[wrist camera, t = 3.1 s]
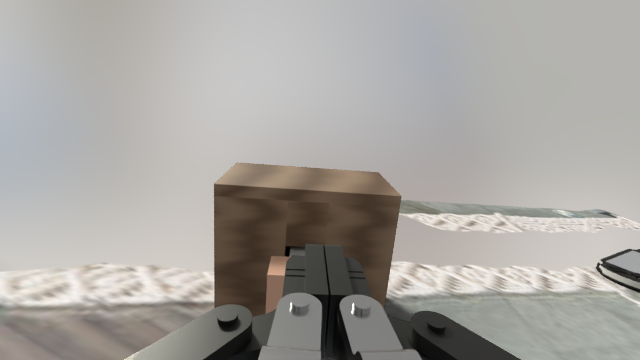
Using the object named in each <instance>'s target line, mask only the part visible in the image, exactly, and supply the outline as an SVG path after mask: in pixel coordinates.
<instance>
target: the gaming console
mask: <svg viewBox="0 0 640 360" xmlns="http://www.w3.org/2000/svg"><path fill="white" fill-rule="evenodd" d="M596 269H597V270H598V271H599V272H600V273H601V274H602V275H603V276H605V277H606V278H608V279H609V280H611V281H613V282H616V283H618V284H620V285H622V286H625V287H627V288H630V289H633V290H636V291H639V292H640V249H638V250H632V249H627V250H624V251H621V252H618V253H616V254H613V255H611V256H608V257H605V258H603V259H601V260H600V261H599V263H598V264H597V267H596Z"/></svg>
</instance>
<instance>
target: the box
mask: <svg viewBox="0 0 640 360" xmlns="http://www.w3.org/2000/svg"><path fill="white" fill-rule="evenodd" d="M400 202H401V195H400V194H399V193H398V192H397V191H396V190H395V189H394V188H393V187H392V186H391V185H390V184H389V183H388V182H387V181H386V180H385V179H384V178H383V177H382V176H381V175H380V174H379V173H378V172H363V171H349V170H335V169H320V168H307V167H293V166H278V165H264V164H250V163H236V164H235V165H234V166H233V167H232V168H231V169H230V170H228V171H227V172H226V173H225V174H224V175H223V176H222V177H221V178H220V179H219V180H218V181H217V182H216V183H215V184H214V258H215V259H214V260H215V261H214V266H215V267H214V276H215V308H216V307H219V306H223V305H228V304H235V305H241V306H244V307H246V308H247V309H249V311H250V312H251V313H252V317H254V316H259V315H264V314H266V292H267V274H268V269H269V265H270V260H271V256H283V257H289V255H290V246H295V247H305V244H318V245H323V247H324V245H341V246H342V250H343V254H344V257H350V258H355V259H356V260H357V261H358V262H359V263H360V264H361V266H362V269H363V273H364V275H365V279H366V281H367V284H368V287H369V290H370V293H371V295H372V298H373V299H375V300H377V301H378V302H379V303H380V304H381V305H382V307H383V309H384V306H385V300H386V293H387V287H388V280H389V274H390V267H391V261H392V254H393V248H394V241H395V235H396V228H397V221H398V215H399V208H400Z"/></svg>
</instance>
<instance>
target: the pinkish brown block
mask: <svg viewBox="0 0 640 360" xmlns="http://www.w3.org/2000/svg"><path fill="white" fill-rule="evenodd" d="M292 255H299V256H305V247H295V246H290V255H289V257H283V256H271V260H270V265H269V269H268V274H267V292H266V314H267V313H269V312H271V311H273V310H275V309H276V308H277V305H278V302H279V301H280V299H281V298H282V293H283V285H284V277H285V268H286V261H287V260H288V259H289V258H290V257H291V256H292Z"/></svg>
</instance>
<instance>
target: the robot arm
mask: <svg viewBox="0 0 640 360" xmlns="http://www.w3.org/2000/svg"><path fill="white" fill-rule="evenodd" d="M324 345H325V357H333V358H334V360H521V359H519V358H517V357H515V356H514V355H512V354H510V353H508V352H507V351H505V350H503V349H501V348H500V347H498V346H496V345H494V344H493V343H491V342H489V341H488V340H486V339H484V338H482V337H481V336H479V335H477V334H475V333H474V332H472V331H470V330H468V329H467V328H465V327H463V326H461V325H460V324H458V323H456V322H455V321H453V320H451V319H449V318H448V317H446V316H444V315H442V314H439V313H436V312H431V311H420V312H417V313H415V314H414V315H413V316H412V318H411V322H407V321H403V320H399V319H395V318H392V317H390V316H388V315H386V313H385V311H384V309H383V307H382V305H381V304H380V303H379V302H378V301H377V300H375V299H373V298H372V295H371V293H370V290H369V287H368V284H367V281H366V279H365V275H364V273H363V269H362V266H361V264H360V263H359V262H358V261H357V260H356V259H355V258H350V257H344V254H343V250H342V246H341V245H324V247H323V245H318V244H305V256H299V255H292V256H291V257H290V258H289V259H288V260H287V261H286V268H285V277H284V285H283V293H282V298H281V299H280V301H279V302H278V305H277V308H276V309H275V310H273V311H271V312H269V313H267V314H264V315H259V316H254V317H252V313H251V312H250V311H249V309H247V308H246V307H244V306H241V305H235V304H228V305H223V306H219V307H216V308H214V309H212V310H211V311H209V312H207V313H205V314H204V315H202V316H200V317H198V318H197V319H195V320H193V321H191V322H190V323H188V324H186V325H184V326H183V327H181V328H179V329H177V330H175V331H174V332H172V333H170V334H168V335H167V336H165V337H163V338H161V339H160V340H158V341H156V342H154V343H153V344H151V345H149V346H147V347H146V348H144V349H142V350H140V351H139V352H137V353H135V354H133V355H132V356H130V357H128V358H126V359H125V360H321V357H324Z"/></svg>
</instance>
